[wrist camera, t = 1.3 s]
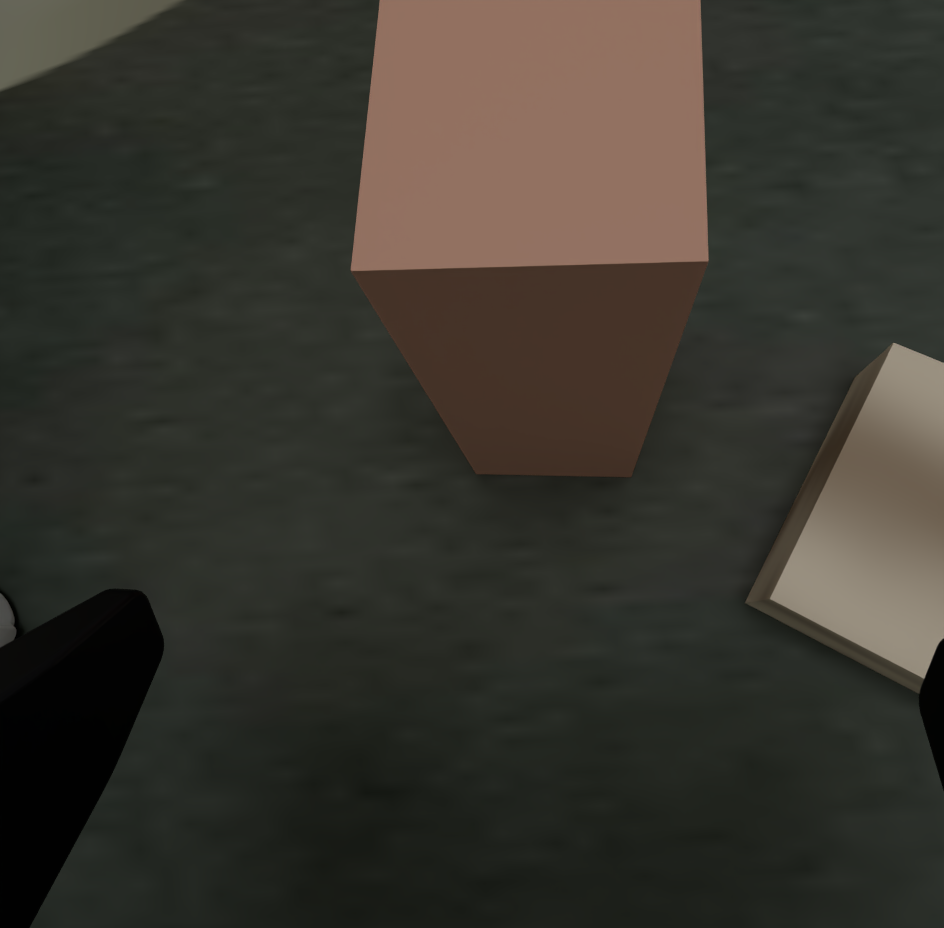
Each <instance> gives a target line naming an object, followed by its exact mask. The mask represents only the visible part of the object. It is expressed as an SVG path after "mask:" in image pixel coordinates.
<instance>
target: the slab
mask: <svg viewBox="0 0 944 928" xmlns="http://www.w3.org/2000/svg"><path fill="white" fill-rule="evenodd" d="M745 603H746V604H748V605H750V606H752V607H754V608H756V609H758V610H759V611H761V612H763V613H765V614H767V615H769V616H771V617H773V618H775V619H777V620H779V621H781V622H782V623H784V624H786V625H788V626H790V627H792V628H794V629H796V630H798V631H800V632H802V633H803V634H805V635H807V636H809V637H811V638H813V639H815V640H817V641H819V642H821V643H823V644H824V645H826V646H828V647H830V648H832V649H834V650H836V651H838V652H840V653H842V654H844V655H845V656H847V657H849V658H851V659H853V660H855V661H857V662H859V663H861V664H863V665H865V666H867V667H868V668H870V669H872V670H874V671H876V672H878V673H880V674H882V675H884V676H886V677H888V678H889V679H891V680H893V681H895V682H897V683H899V684H901V685H903V686H905V687H907V688H909V689H910V690H912V691H914V692H916V693H918V694H919V693H920V688H921V685H922V683H923V680H924V678H925V675H926V673H927V670H928V668H929V665H930V663H931V660H932V658H933V655H934V653H935V650H936V648H937V646H938V644H939V642H940V641H941V640H942V639H943V638H944V363H942V362H940V361H937V360H935V359H932V358H930V357H928V356H925V355H923V354H920V353H918V352H915V351H913V350H910V349H908V348H905V347H903V346H900V345H898V344H895V343H893V344H892V345H891V346H889V347H888V348H887V349H886V350H885V351H884V352H883V353H882V354H881V355H879V356H878V357H877V358H876V359H875V360H874V361H873V362H872V363H870V364H869V365H868V366H867V367H866V368H865V369H864V370H863V371H862V372H860V373H859V374H858V375H857V376H856V377H855V378H854V380H853V382H852V385H851V387H850V389H849V391H848V393H847V395H846V397H845V399H844V401H843V403H842V405H841V407H840V409H839V411H838V413H837V415H836V417H835V419H834V421H833V423H832V425H831V427H830V430H829V432H828V434H827V436H826V438H825V440H824V442H823V444H822V446H821V448H820V450H819V452H818V454H817V456H816V458H815V460H814V462H813V464H812V466H811V468H810V470H809V473H808V475H807V477H806V479H805V481H804V483H803V485H802V487H801V489H800V491H799V493H798V495H797V497H796V499H795V501H794V503H793V505H792V507H791V509H790V511H789V513H788V516H787V518H786V520H785V522H784V524H783V526H782V528H781V530H780V532H779V534H778V536H777V538H776V540H775V542H774V544H773V546H772V548H771V550H770V552H769V554H768V556H767V558H766V561H765V563H764V565H763V567H762V569H761V571H760V573H759V575H758V577H757V579H756V581H755V583H754V585H753V587H752V589H751V591H750V593H749V595H748V597H747V599H746V601H745Z"/></svg>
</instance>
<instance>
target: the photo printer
mask: <svg viewBox="0 0 944 928" xmlns="http://www.w3.org/2000/svg"><path fill="white" fill-rule="evenodd" d="M14 622H15V618H14V615H13V611H12V609H11V607H10V605H9V603H8V601H7V600H6V599H5V597H4V596H3V595H2V594H1V593H0V647H2V646H4V645H5V644H7V643H9V642H11V641H13V640H14V638H15V636H16V631H17V630H16V628H15V627H14Z"/></svg>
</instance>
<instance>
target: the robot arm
mask: <svg viewBox="0 0 944 928" xmlns="http://www.w3.org/2000/svg"><path fill="white" fill-rule="evenodd" d="M163 651H164V639H163V635H162V633H161V630H160V628H159V625H158V623H157V620H156V618H155V615H154V613H153V610H152V608H151V605H150V603H149V600H148V598H147V596H146V595H145V594H144V593H143V592H141V591H138V590H131V589H108V590H105V591H103V592H101V593H99V594H97V595H95V596H94V597H92V598H90V599H88V600H86V601H84V602H83V603H81V604H79V605H77V606H75V607H73V608H72V609H70V610H68V611H66V612H64V613H62V614H61V615H59V616H57V617H55V618H53V619H51V620H50V621H48V622H46V623H44V624H42V625H40V626H38V627H37V628H35V629H33V630H31V631H29V632H27V633H26V634H24V635H22V636H20V637H18V638H16V639H15V640H13V641H11V642H9V643H7V644H5V645H4V646H2V647H0V928H30V926H31V924H32V922H33V920H34V918H35V917H36V915H37V913H38V911H39V909H40V907H41V905H42V904H43V902H44V900H45V898H46V896H47V894H48V892H49V891H50V889H51V887H52V885H53V883H54V881H55V879H56V878H57V876H58V874H59V872H60V870H61V868H62V867H63V865H64V863H65V861H66V859H67V857H68V855H69V854H70V852H71V850H72V848H73V846H74V844H75V842H76V841H77V839H78V837H79V835H80V833H81V831H82V830H83V828H84V826H85V824H86V822H87V820H88V818H89V817H90V815H91V813H92V811H93V809H94V807H95V805H96V804H97V802H98V800H99V798H100V796H101V794H102V792H103V790H104V789H105V787H106V785H107V783H108V781H109V779H110V777H111V775H112V773H113V771H114V768H115V766H116V764H117V762H118V760H119V757H120V755H121V753H122V751H123V748H124V746H125V744H126V741H127V739H128V737H129V734H130V732H131V730H132V727H133V725H134V722H135V720H136V718H137V715H138V713H139V711H140V708H141V706H142V704H143V701H144V699H145V697H146V694H147V692H148V689H149V687H150V685H151V682H152V680H153V678H154V675H155V673H156V671H157V668H158V666H159V664H160V661H161V658H162V655H163ZM919 707H920V713H921V716H922V720H923V723H924V727H925V730H926V733H927V737H928V740H929V743H930V747H931V750H932V753H933V757H934V760H935V763H936V767H937V770H938V773H939V777H940V780H941V783H942V787H943V790H944V638H943V639H942V640H941V641H940V642H939V644H938V646H937V648H936V650H935V653H934V655H933V658H932V660H931V663H930V665H929V668H928V670H927V673H926V675H925V678H924V680H923V683H922V685H921V688H920V693H919Z"/></svg>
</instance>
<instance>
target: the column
mask: <svg viewBox="0 0 944 928" xmlns="http://www.w3.org/2000/svg"><path fill="white" fill-rule="evenodd" d="M707 264H708V230H707V198H706V166H705V133H704V101H703V69H702V36H701V4H700V0H380V5H379V14H378V24H377V33H376V42H375V51H374V61H373V70H372V79H371V89H370V98H369V107H368V116H367V126H366V135H365V144H364V153H363V163H362V172H361V181H360V190H359V200H358V209H357V218H356V227H355V237H354V246H353V255H352V264H351V272H352V274H353V275H354V277H355V279H356V280H357V282H358V284H359V285H360V287H361V288H362V290H363V292H364V293H365V295H366V296H367V298H368V300H369V301H370V303H371V305H372V306H373V308H374V309H375V311H376V313H377V314H378V316H379V318H380V319H381V321H382V322H383V324H384V326H385V327H386V329H387V330H388V332H389V334H390V335H391V337H392V339H393V340H394V342H395V343H396V345H397V347H398V348H399V350H400V352H401V353H402V355H403V356H404V358H405V360H406V361H407V363H408V364H409V366H410V368H411V369H412V371H413V373H414V374H415V376H416V377H417V379H418V381H419V382H420V384H421V386H422V387H423V389H424V390H425V392H426V394H427V395H428V397H429V399H430V400H431V402H432V403H433V405H434V407H435V408H436V410H437V411H438V413H439V415H440V416H441V418H442V420H443V421H444V423H445V424H446V426H447V428H448V429H449V431H450V433H451V434H452V436H453V437H454V439H455V441H456V442H457V444H458V445H459V447H460V449H461V450H462V452H463V454H464V455H465V457H466V458H467V460H468V462H469V463H470V465H471V467H472V468H473V470H474V471H475V473H476V474H496V475H544V476H592V477H631V476H632V473H633V471H634V468H635V465H636V462H637V459H638V457H639V454H640V451H641V448H642V445H643V443H644V440H645V437H646V434H647V432H648V429H649V426H650V423H651V420H652V418H653V415H654V412H655V409H656V406H657V404H658V401H659V398H660V395H661V392H662V390H663V387H664V384H665V381H666V378H667V376H668V373H669V370H670V367H671V364H672V362H673V359H674V356H675V353H676V350H677V348H678V345H679V342H680V339H681V337H682V334H683V331H684V328H685V325H686V323H687V320H688V317H689V314H690V311H691V309H692V306H693V303H694V300H695V297H696V295H697V292H698V289H699V286H700V283H701V281H702V278H703V275H704V272H705V269H706V267H707Z"/></svg>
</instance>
